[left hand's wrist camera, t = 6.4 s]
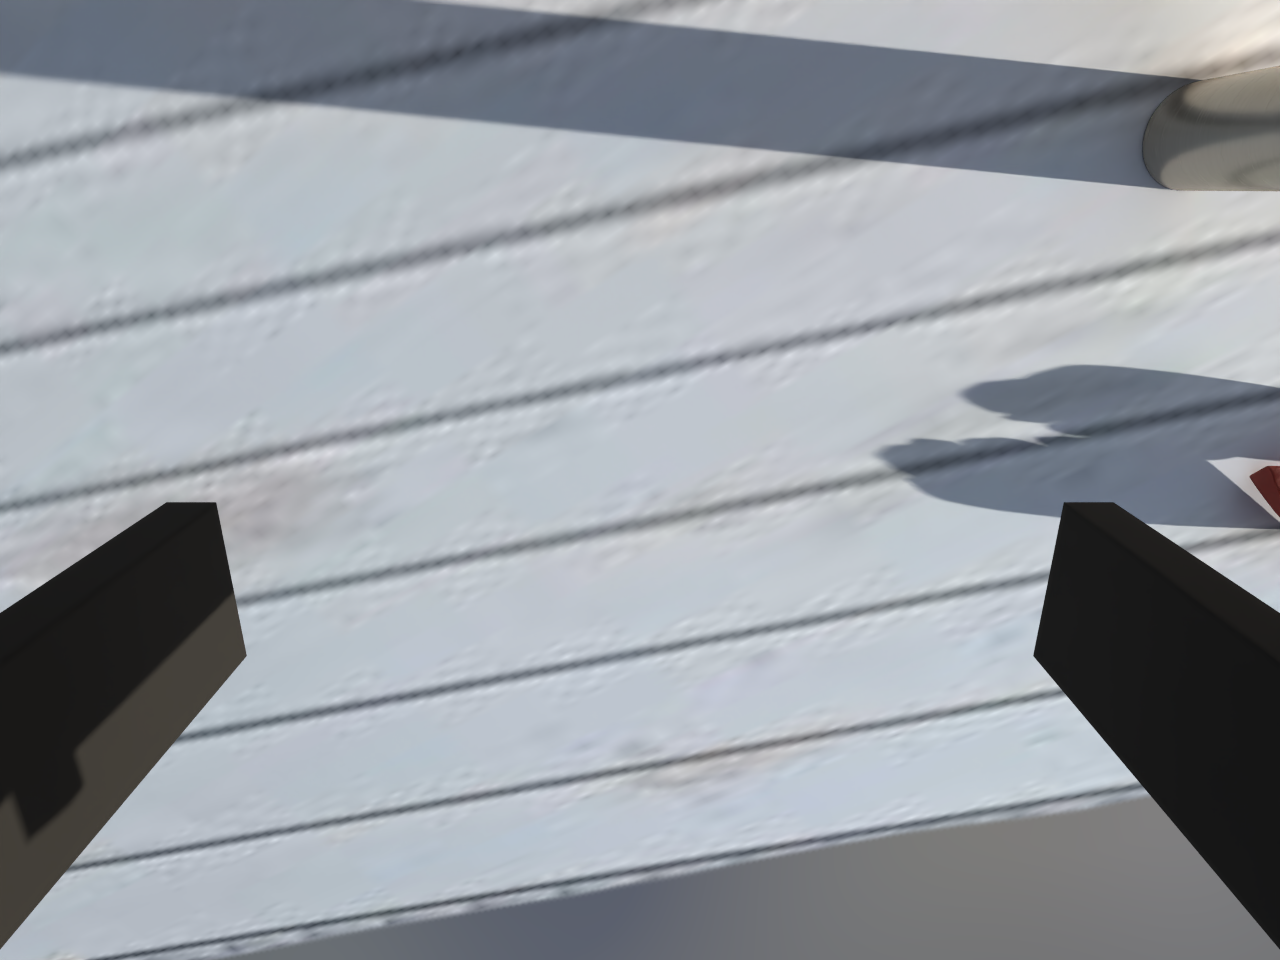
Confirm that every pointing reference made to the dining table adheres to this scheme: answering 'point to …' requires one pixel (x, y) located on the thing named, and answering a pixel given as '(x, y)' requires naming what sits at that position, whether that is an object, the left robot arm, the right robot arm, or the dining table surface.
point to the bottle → (1218, 134)
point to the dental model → (1269, 485)
